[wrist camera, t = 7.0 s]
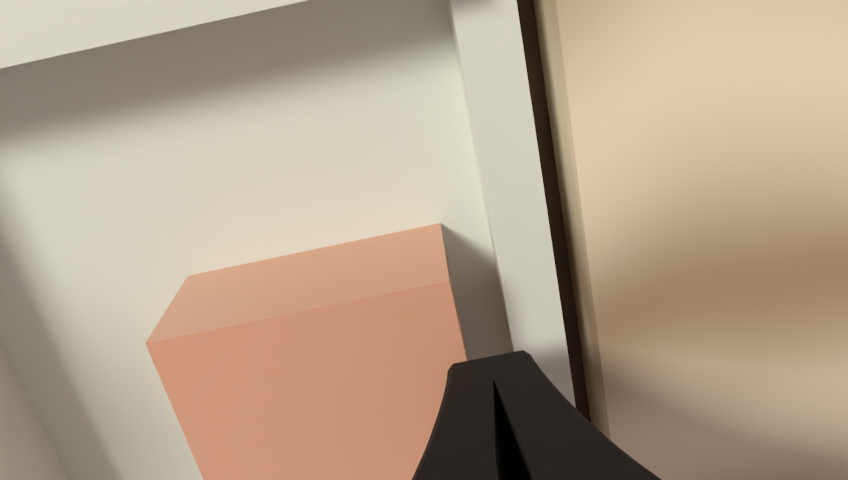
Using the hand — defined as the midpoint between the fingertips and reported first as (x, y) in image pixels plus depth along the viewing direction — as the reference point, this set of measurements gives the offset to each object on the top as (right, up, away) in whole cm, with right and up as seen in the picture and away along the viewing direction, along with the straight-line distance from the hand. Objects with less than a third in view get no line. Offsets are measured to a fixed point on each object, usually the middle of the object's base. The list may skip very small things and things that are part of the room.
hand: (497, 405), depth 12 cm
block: (-3, 0, +2) cm, 4 cm away
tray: (-4, 0, +3) cm, 5 cm away
